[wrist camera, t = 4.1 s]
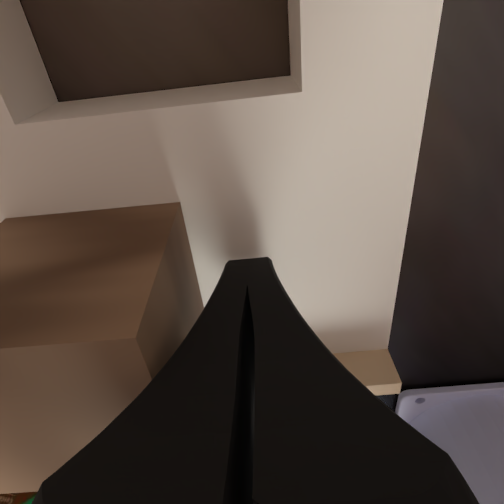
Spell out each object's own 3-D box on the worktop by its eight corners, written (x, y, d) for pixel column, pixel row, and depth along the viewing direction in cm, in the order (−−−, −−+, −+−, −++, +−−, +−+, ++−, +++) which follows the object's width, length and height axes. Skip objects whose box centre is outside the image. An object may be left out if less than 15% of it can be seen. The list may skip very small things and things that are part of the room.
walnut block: (180, 202, 10) (135, 337, 6) (208, 328, 13) (191, 481, 9) (5, 218, 10) (-156, 360, 6) (71, 339, 13) (-10, 494, 9)
